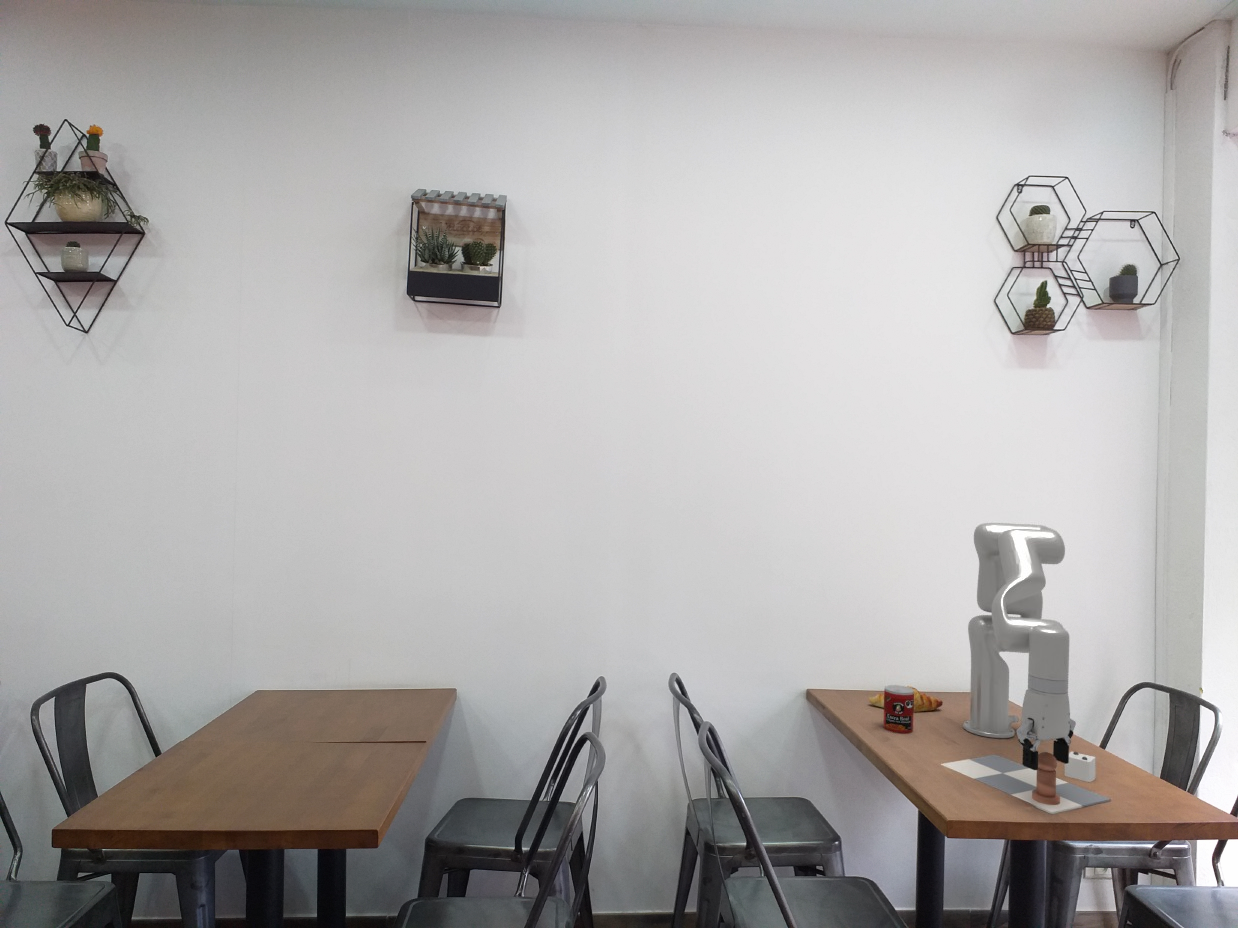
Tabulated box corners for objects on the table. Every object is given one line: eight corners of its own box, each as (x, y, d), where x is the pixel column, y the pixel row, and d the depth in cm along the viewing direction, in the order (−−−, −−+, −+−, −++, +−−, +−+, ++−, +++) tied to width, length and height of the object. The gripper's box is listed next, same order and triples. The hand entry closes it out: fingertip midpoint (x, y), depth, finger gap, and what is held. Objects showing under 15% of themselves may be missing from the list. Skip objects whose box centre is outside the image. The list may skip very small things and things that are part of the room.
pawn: (1042, 793, 167) (1043, 746, 167) (1065, 802, 162) (1066, 754, 162) (1026, 796, 165) (1027, 749, 165) (1049, 806, 160) (1049, 757, 160)
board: (995, 756, 191) (995, 754, 191) (1110, 800, 165) (1110, 798, 165) (940, 765, 183) (940, 763, 183) (1051, 814, 157) (1051, 812, 157)
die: (1071, 772, 182) (1071, 748, 182) (1095, 778, 178) (1095, 754, 178) (1064, 777, 178) (1065, 753, 178) (1089, 784, 175) (1089, 759, 175)
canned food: (882, 731, 208) (883, 690, 208) (884, 722, 215) (885, 683, 216) (912, 735, 205) (913, 693, 205) (913, 727, 212) (914, 687, 213)
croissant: (871, 720, 229) (873, 699, 226) (864, 696, 238) (867, 676, 235) (944, 723, 227) (948, 703, 223) (935, 699, 236) (939, 679, 232)
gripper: (1058, 676, 171) (1056, 752, 171) (1004, 683, 164) (1002, 763, 164) (1091, 685, 164) (1088, 765, 164) (1036, 693, 157) (1034, 777, 157)
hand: (1045, 764), depth 164 cm, fingers open, 9 cm apart
